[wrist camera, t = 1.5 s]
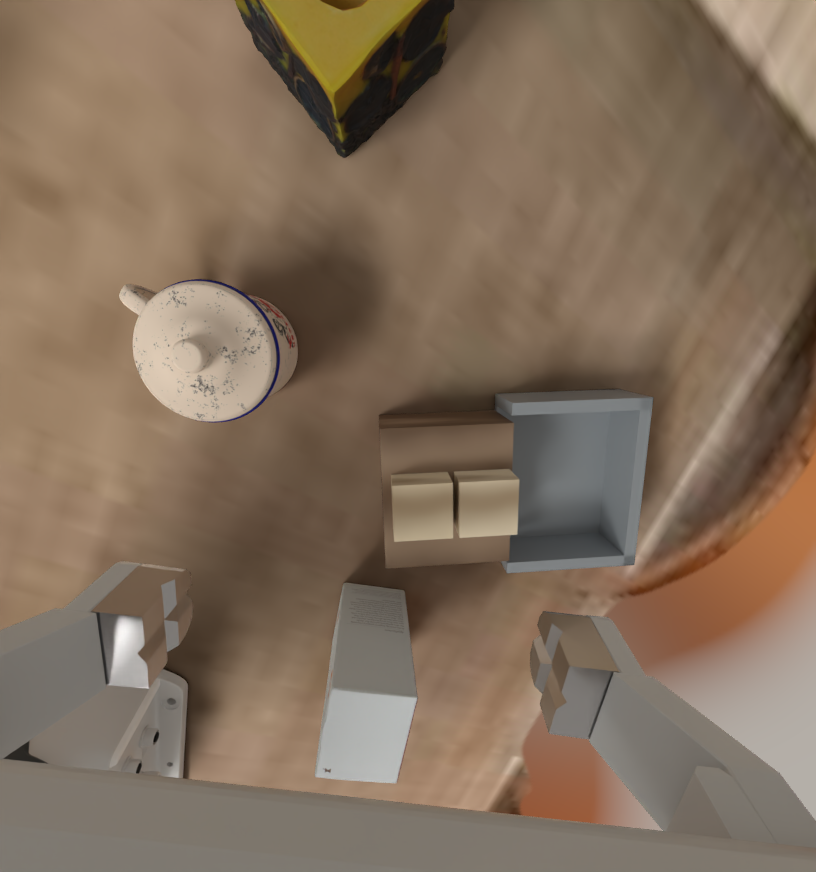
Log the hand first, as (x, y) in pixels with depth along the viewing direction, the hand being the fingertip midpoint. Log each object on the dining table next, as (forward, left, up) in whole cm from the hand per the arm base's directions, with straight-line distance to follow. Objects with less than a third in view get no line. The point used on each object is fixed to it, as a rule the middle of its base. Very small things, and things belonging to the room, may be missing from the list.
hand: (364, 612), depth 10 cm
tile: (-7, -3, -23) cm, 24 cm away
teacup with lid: (+6, +12, -29) cm, 32 cm away
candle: (+26, +1, -29) cm, 39 cm away
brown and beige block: (-7, -6, -29) cm, 30 cm away
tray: (-7, -17, -29) cm, 34 cm away
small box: (-22, +2, -29) cm, 36 cm away
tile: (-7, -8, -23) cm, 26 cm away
